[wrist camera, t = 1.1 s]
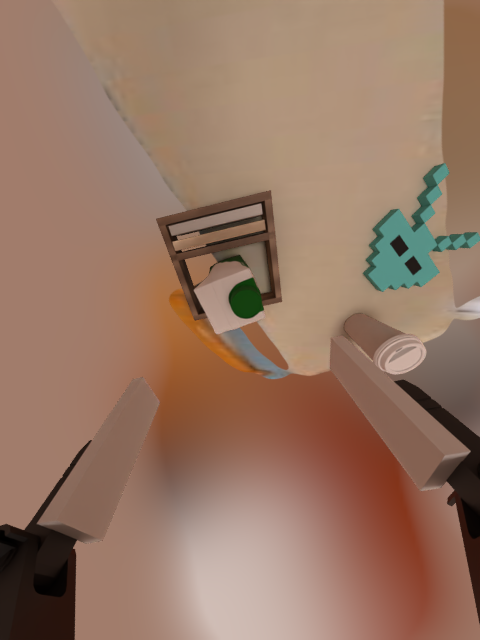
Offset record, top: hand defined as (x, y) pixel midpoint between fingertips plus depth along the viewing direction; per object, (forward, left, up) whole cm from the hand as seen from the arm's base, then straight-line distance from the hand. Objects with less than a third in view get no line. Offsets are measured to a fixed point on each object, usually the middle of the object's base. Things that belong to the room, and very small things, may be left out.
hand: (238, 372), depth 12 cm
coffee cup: (+21, +31, -31) cm, 48 cm away
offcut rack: (-3, 0, -31) cm, 31 cm away
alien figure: (+3, +41, -31) cm, 51 cm away
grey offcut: (-11, 0, -31) cm, 33 cm away
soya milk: (0, 0, -31) cm, 31 cm away
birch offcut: (-9, 0, -31) cm, 32 cm away
